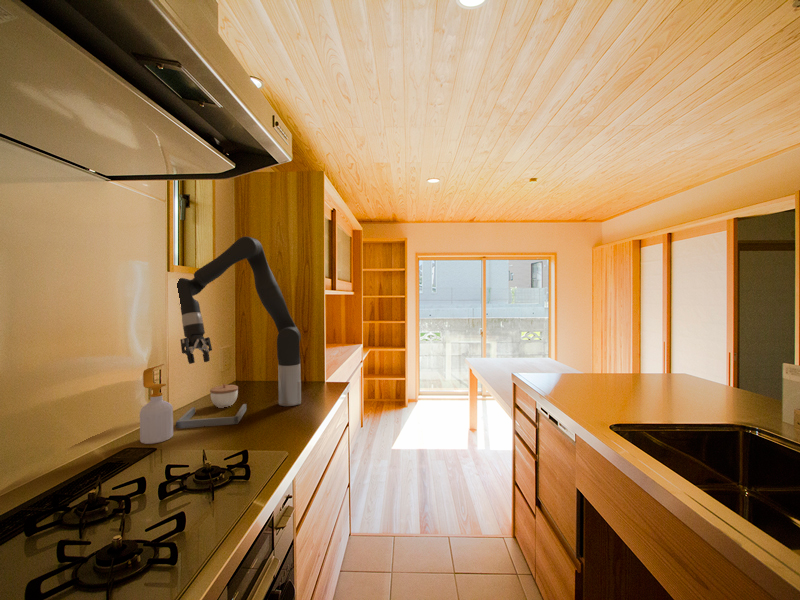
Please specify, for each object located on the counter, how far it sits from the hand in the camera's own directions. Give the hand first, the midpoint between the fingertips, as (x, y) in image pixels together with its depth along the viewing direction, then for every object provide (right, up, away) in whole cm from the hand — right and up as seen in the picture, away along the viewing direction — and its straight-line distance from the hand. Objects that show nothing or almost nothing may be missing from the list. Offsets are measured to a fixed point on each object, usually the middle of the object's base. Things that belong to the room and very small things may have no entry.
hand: (199, 362), depth 150 cm
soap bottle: (+3, -20, -31) cm, 37 cm away
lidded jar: (+8, -20, +5) cm, 22 cm away
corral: (+12, -20, -11) cm, 25 cm away
